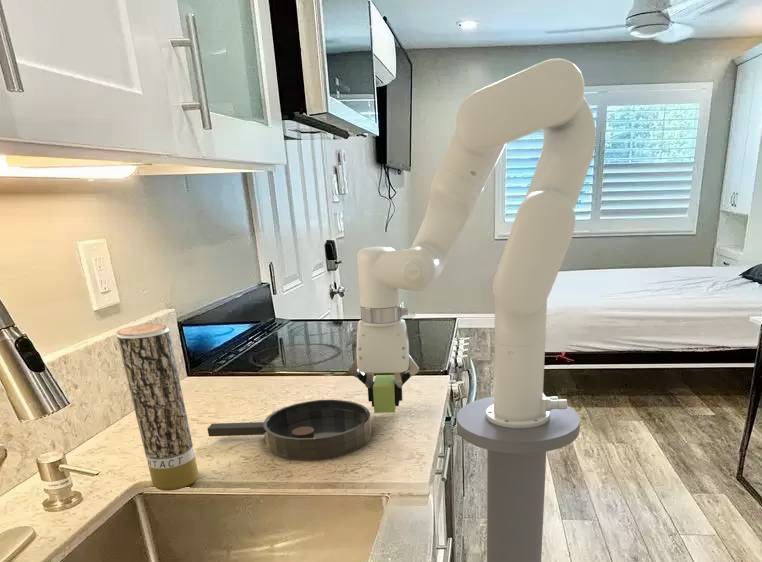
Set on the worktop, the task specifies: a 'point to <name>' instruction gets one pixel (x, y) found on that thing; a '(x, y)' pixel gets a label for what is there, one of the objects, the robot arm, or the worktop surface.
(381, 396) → the sponge
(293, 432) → the brown disc
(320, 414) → the pan
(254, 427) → the pan handle
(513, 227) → the robot arm
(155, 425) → the paper tube
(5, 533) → the worktop surface
